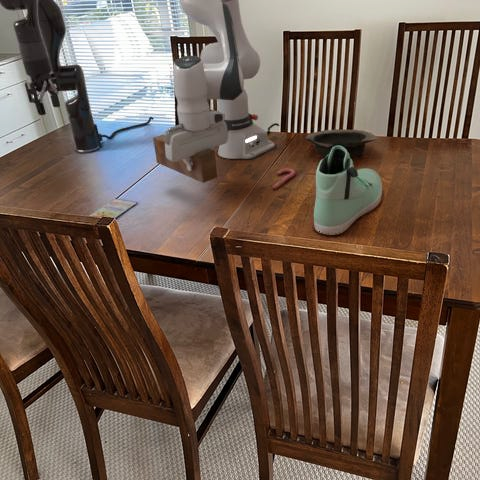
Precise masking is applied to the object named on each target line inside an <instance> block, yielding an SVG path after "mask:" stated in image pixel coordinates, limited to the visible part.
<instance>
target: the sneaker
mask: <svg viewBox="0 0 480 480" xmlns="http://www.w3.org/2000/svg"><path fill="white" fill-rule="evenodd" d="M317 165H318V166H317V168H316V172H315V201H314V207H313V225H314V229H315V231H316V232H318V233H320V234H323V235H326V236H327V235H328V236H336V235H339V234H342V233H344V232H345V231H347V230H348V229H349V228H350V227H351V226H352V225H353V224H354V222H356V221H357V220H358V219H359V218H360V217H362V216H363V215H365V214H367V213H370V212H372V210H374V209H375V208H377V207H378V205H380V203H381V200H382V196H383V184H382V183H383V182H382V179H381V176H380V175H379V173H378V172H377V171H376V170H374V169H372V168H367V167H365V168H358V169H357V168H355V167H354V161H353V159H352V158H351V159H350V156H349V153H348V152H347V150H346V149H345V148H344V147H342V146H334V147H333V148H332V149H331V152H330V154H329V155H327V156H326V157H325V158H324V159H323V158H322V159H321V160H320V161H319V163H318V164H317ZM343 230H344V231H343ZM319 231H320V232H319ZM322 232H323V233H322ZM339 232H340V233H339ZM326 233H327V234H326ZM328 233H329V234H328ZM335 233H337V234H335Z"/></svg>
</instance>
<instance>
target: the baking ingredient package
mask: <svg viewBox="0 0 480 480" xmlns="http://www.w3.org/2000/svg"><path fill="white" fill-rule="evenodd" d="M136 204H137V202H135V201H129V200H124V199H118V198H114V199H112V200H111V201H109V202H108V203H106V204H104V205H103V206H101V207H100V208H98V209H96V210H95V211H93V212H92V213H91V214H89V215H88V216H94V217H104V216H106V217H114V219H116V218H118V217H119V216H120V215H122V214H123V213H124V212H126V211H128V210H129V209H130V208H132V207H133V206H134V205H136Z"/></svg>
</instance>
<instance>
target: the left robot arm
mask: <svg viewBox="0 0 480 480" xmlns="http://www.w3.org/2000/svg"><path fill="white" fill-rule="evenodd" d="M0 6H1V7H2V8H3V9H5V10H7V11H10V12H15V11H24V10H26V16H25V17H23V18H19V19H17V20H15V21H14V22H13V26H12V27H13V31H14V33H15V37H16V40H17V44H18V50H19V54H20V57H21V61H22V64H23V68H24V71H25V74H26V75H27V76H29V78H30V81H25V82H24V86H25V90H26V91H25V92H26V94H27V98H28V99H27V100H28V102H29V103H31V104H34V105H35V108H36V112H37V114H38V115H39V116H45V115H46V114H47V112H46V108H45V104H44V102H43V100H44V97H45V95H46V92H47V93H48V94H49V95H50V96H49V97H50V101H51V104H52V107H53V108H60V107H61V104H60V102H61V101H60V98H59V92H73V91H76V93H77V94H76V95H75V96H73V97H71V98H69V99H67V100H65V102H64V106H65V110H66V114H67V115H66V116H67V118H68V122H69V126H70V130H71V133H72V137H73V142H74V143H73V144H74V147H75V150H76V152H77V153H80V154H87V153H92V152H96V151H97V150H99V149H100V148H102V142H103V141H104V140H103V138H106V139H107V140H111V139H113V138H114V136H115V135H116V134H117V133H120V132H123V131H127V130H131V129H134V128H138V127H139V128H141V127H144V126H147V125H148V124H151V121H152V120H154V117H153V116H150V117H148V120H147V121H146V122H143V123H138V124H134V125H129V126H127V127H122V128H119V129H117V130H114V131H113V132H112V133H111V134H110V136H109V135H107V134H102V133H99V129H98V125H97V123H95V121H94V116H93V113H92V108H91V104H90V99H89V93H88V90H87V84H86V77H85V73H84V70H83V68H82V66H81V65H79V64H66V65H62V64H61V61H60V60H61V59H60V54H61V50H62V46H63V43H64V40H65V37H66V33H67V26H66V22H65V19H64V16H63V12H62V9H61V7H60V5H58V3H57V2H56V1H55V0H0Z"/></svg>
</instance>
